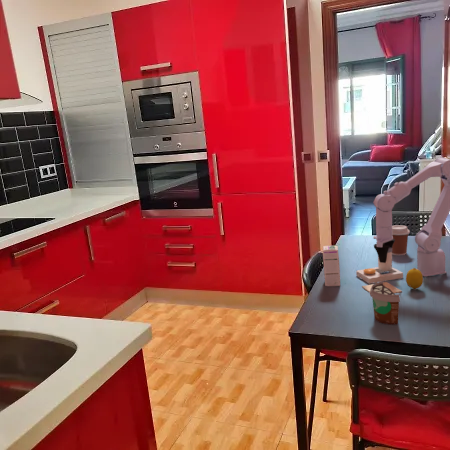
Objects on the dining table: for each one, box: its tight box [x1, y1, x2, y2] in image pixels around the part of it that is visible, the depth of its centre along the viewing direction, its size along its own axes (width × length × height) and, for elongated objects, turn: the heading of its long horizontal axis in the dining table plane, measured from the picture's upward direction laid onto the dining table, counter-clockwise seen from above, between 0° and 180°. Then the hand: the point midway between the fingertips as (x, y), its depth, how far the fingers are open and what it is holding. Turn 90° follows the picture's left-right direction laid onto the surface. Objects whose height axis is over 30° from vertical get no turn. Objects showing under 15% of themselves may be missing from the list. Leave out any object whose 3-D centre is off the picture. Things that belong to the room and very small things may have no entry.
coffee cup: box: [392, 224, 411, 256], centre depth 197 cm, size 9×9×12 cm
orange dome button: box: [364, 268, 376, 275], centre depth 173 cm, size 4×4×3 cm
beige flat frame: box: [355, 266, 404, 285], centre depth 173 cm, size 14×10×2 cm
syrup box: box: [322, 244, 341, 287], centre depth 170 cm, size 6×6×14 cm
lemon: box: [405, 267, 424, 291], centre depth 157 cm, size 6×6×8 cm
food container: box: [369, 281, 401, 326], centre depth 138 cm, size 12×6×10 cm, turn 5°
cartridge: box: [377, 247, 393, 271], centre depth 172 cm, size 5×5×8 cm
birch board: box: [361, 281, 403, 295], centre depth 161 cm, size 10×10×1 cm
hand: (384, 260), depth 173 cm, fingers closed on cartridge, 5 cm apart
